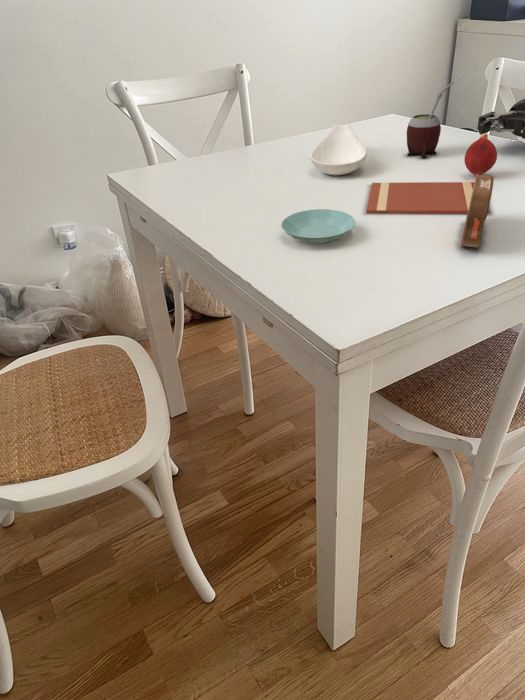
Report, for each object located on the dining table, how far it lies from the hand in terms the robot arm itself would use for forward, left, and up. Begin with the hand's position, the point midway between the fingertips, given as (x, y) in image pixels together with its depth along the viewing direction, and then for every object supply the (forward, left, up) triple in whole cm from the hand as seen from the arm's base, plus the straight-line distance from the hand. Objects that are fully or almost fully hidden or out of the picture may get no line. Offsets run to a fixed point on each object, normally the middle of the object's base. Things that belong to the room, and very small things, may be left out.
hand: (502, 131), depth 107 cm
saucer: (+32, +38, -7) cm, 50 cm away
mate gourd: (+15, -8, -7) cm, 18 cm away
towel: (+15, +21, -6) cm, 26 cm away
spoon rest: (+33, -2, -7) cm, 33 cm away
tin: (+8, +38, -7) cm, 39 cm away
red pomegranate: (+5, +8, -7) cm, 12 cm away
